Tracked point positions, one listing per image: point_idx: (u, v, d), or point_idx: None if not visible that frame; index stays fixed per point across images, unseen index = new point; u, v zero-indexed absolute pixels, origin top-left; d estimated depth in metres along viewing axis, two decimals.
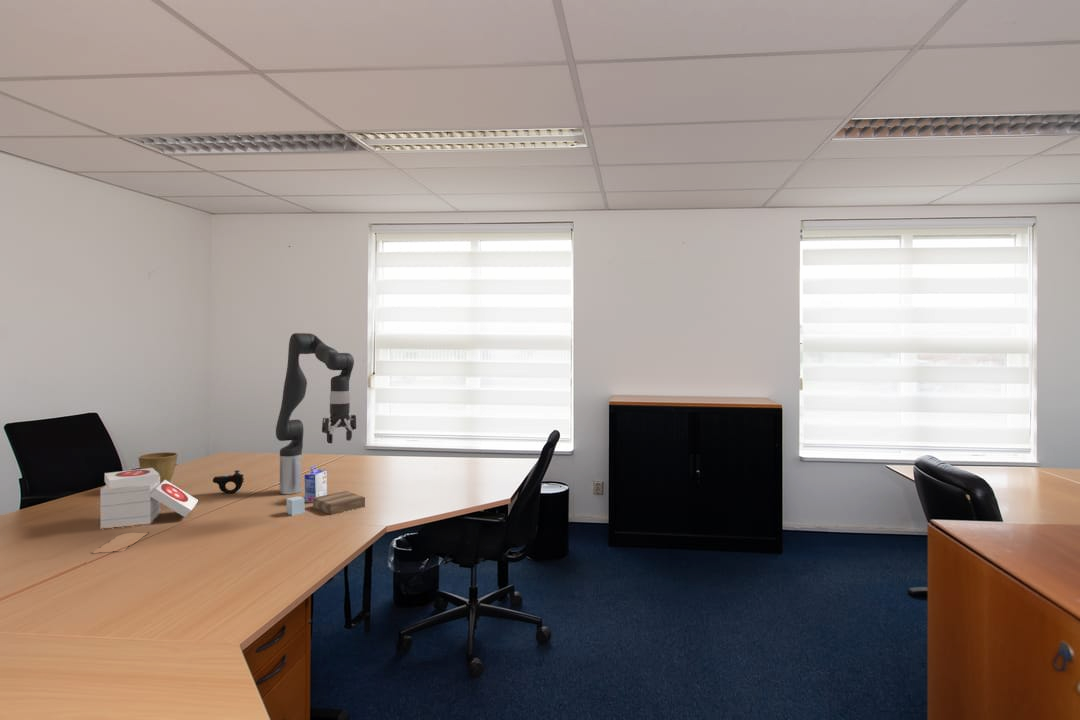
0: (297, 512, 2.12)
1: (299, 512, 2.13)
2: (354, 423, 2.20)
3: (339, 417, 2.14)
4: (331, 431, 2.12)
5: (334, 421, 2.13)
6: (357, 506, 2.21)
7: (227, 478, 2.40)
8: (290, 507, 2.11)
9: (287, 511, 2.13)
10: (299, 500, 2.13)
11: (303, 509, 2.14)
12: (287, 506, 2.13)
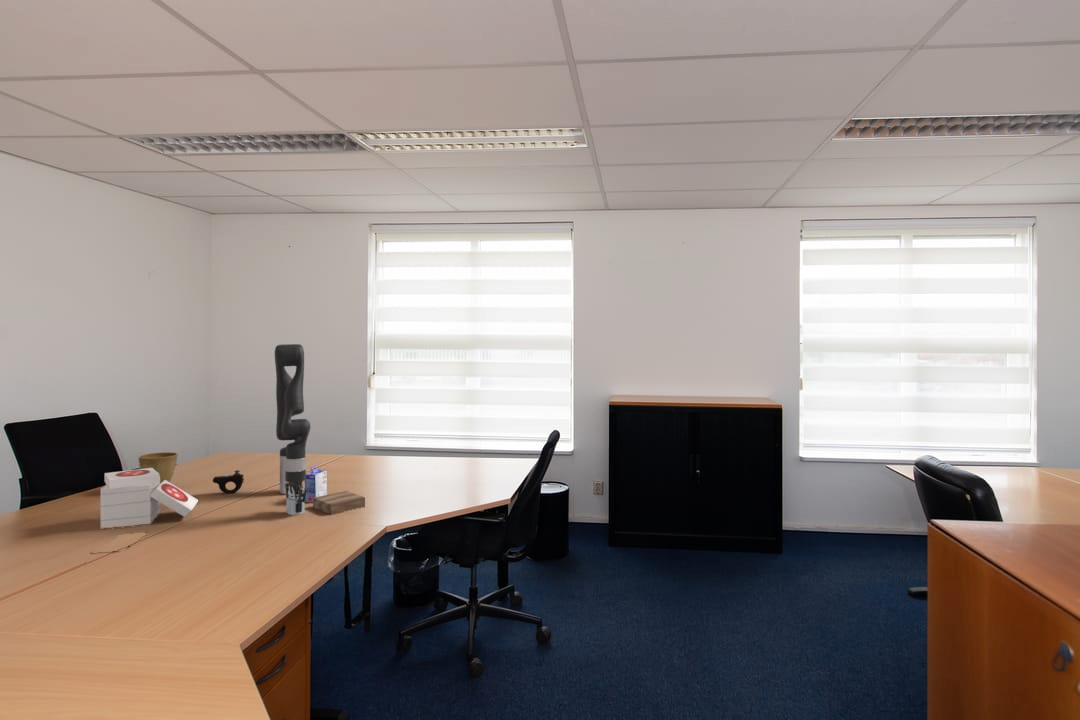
0: None
1: (299, 512, 2.13)
2: None
3: None
4: None
5: None
6: (357, 506, 2.21)
7: (227, 478, 2.40)
8: (290, 507, 2.11)
9: (287, 511, 2.13)
10: None
11: (303, 509, 2.14)
12: (287, 505, 2.13)
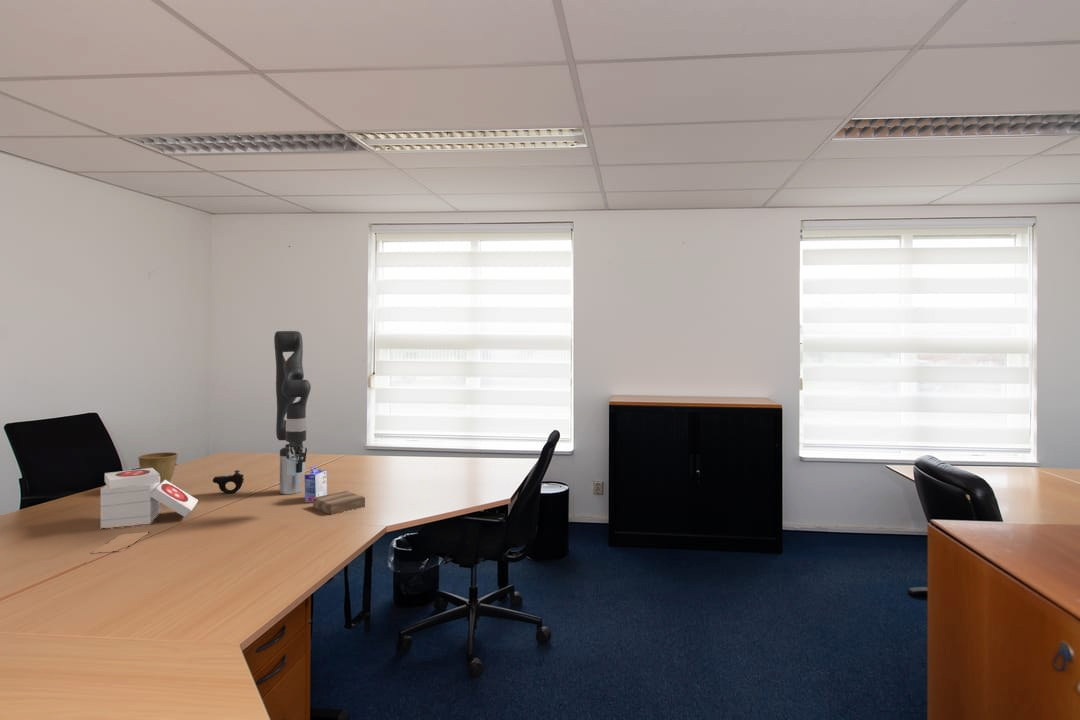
0: None
1: None
2: None
3: None
4: None
5: None
6: (357, 506, 2.21)
7: (227, 478, 2.40)
8: (290, 467, 2.11)
9: (287, 471, 2.13)
10: None
11: (303, 469, 2.14)
12: (287, 466, 2.13)
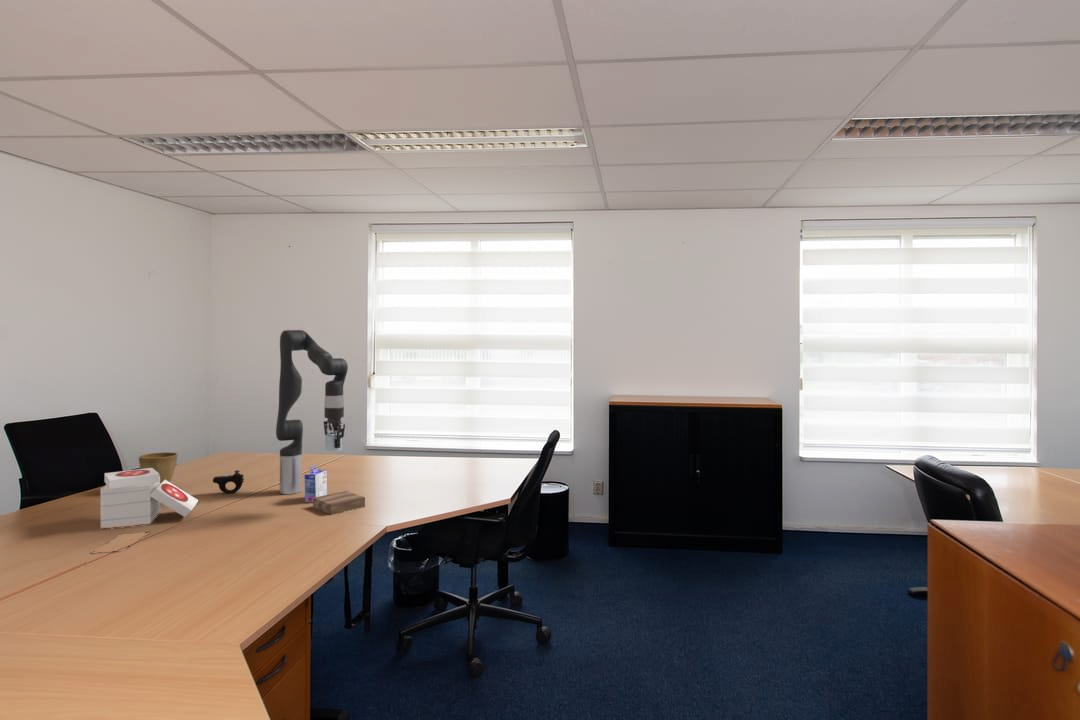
0: None
1: (337, 448, 2.20)
2: None
3: None
4: None
5: None
6: (357, 506, 2.21)
7: (227, 478, 2.40)
8: (329, 442, 2.19)
9: (326, 447, 2.20)
10: None
11: (341, 445, 2.21)
12: (325, 441, 2.21)
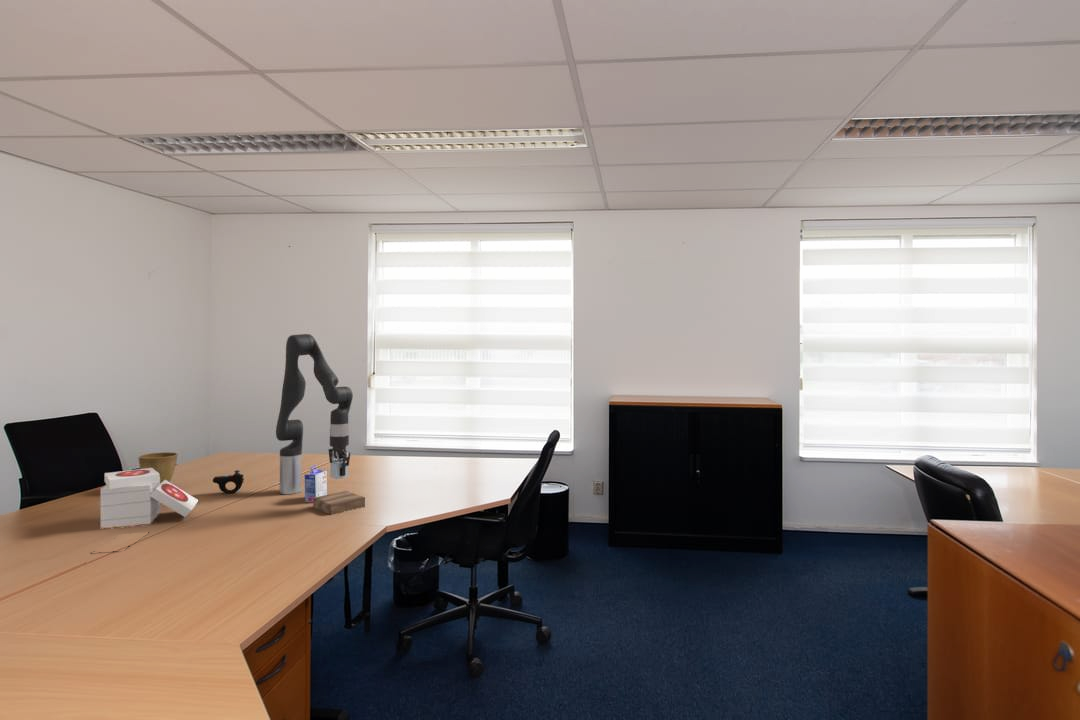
0: None
1: (343, 476, 2.21)
2: None
3: None
4: None
5: None
6: (357, 506, 2.21)
7: (227, 478, 2.40)
8: (334, 470, 2.20)
9: (331, 475, 2.22)
10: None
11: (346, 473, 2.23)
12: (331, 469, 2.22)
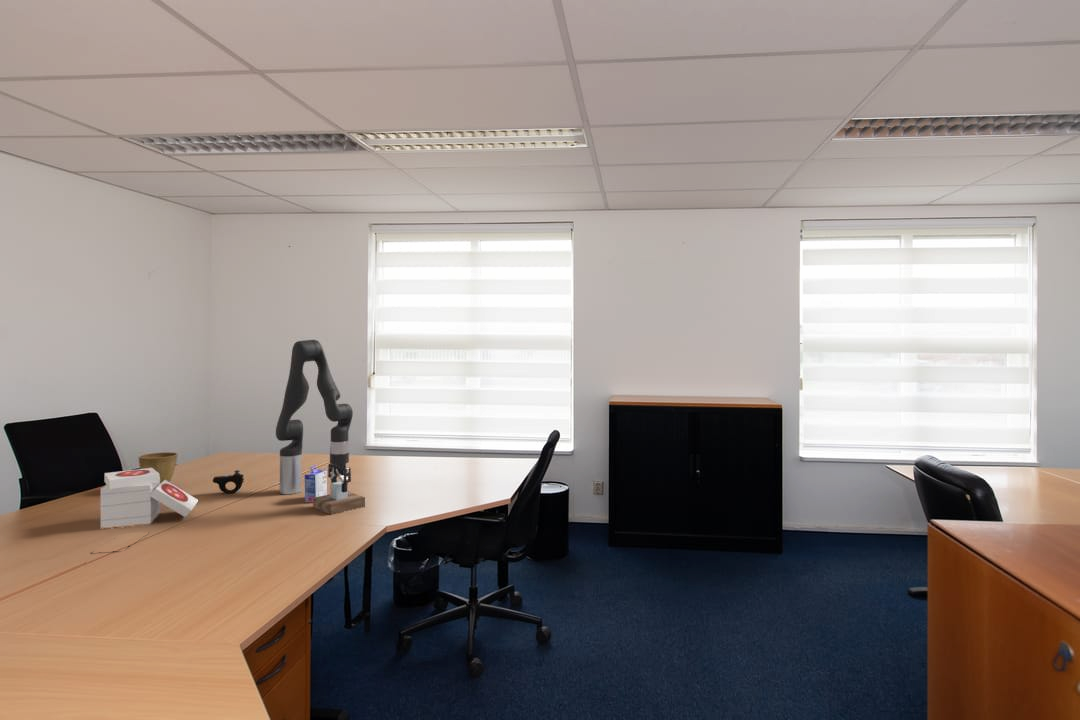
0: (341, 496, 2.21)
1: (343, 496, 2.22)
2: None
3: None
4: None
5: None
6: (357, 506, 2.21)
7: (227, 478, 2.40)
8: (334, 491, 2.20)
9: (331, 495, 2.22)
10: None
11: (346, 493, 2.23)
12: (330, 490, 2.22)
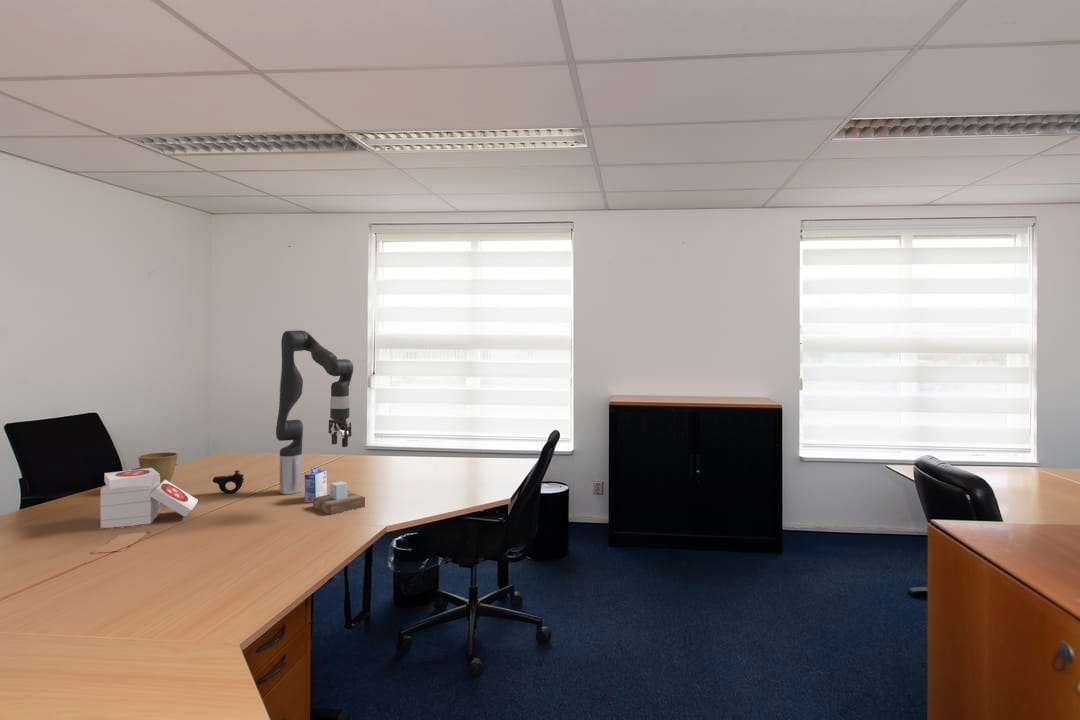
0: (341, 496, 2.21)
1: (343, 496, 2.22)
2: None
3: None
4: None
5: None
6: (357, 506, 2.21)
7: (227, 478, 2.40)
8: (334, 491, 2.20)
9: (331, 495, 2.22)
10: (343, 485, 2.22)
11: (346, 493, 2.23)
12: (330, 490, 2.22)
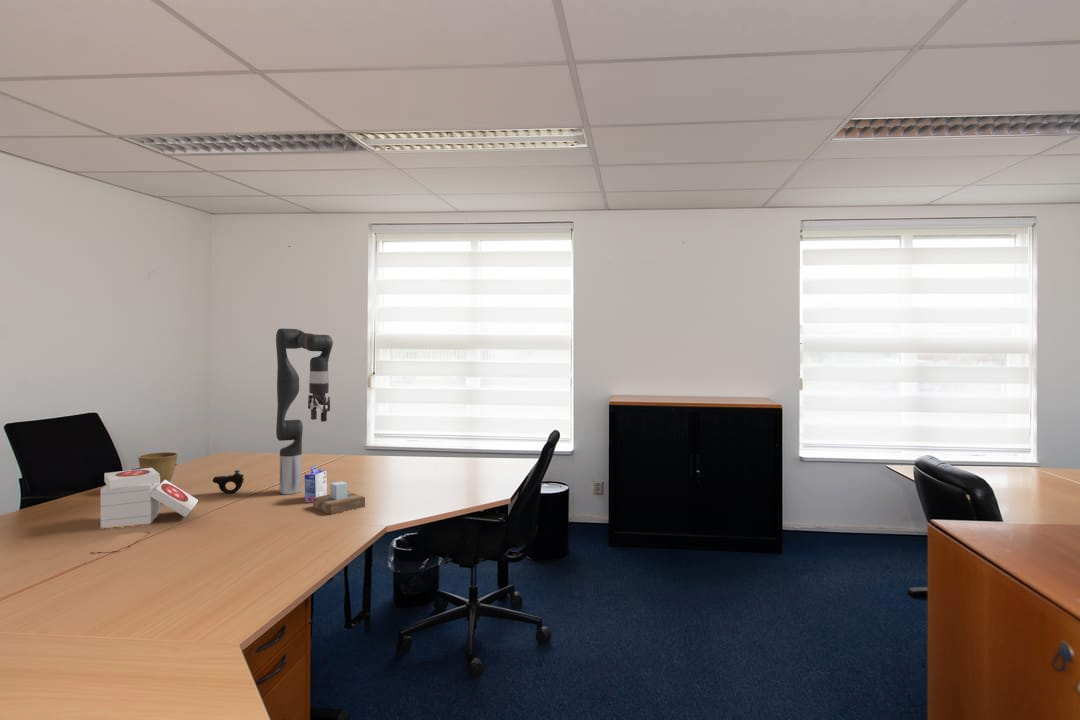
0: (341, 496, 2.21)
1: (343, 496, 2.22)
2: None
3: None
4: None
5: None
6: (357, 506, 2.21)
7: (227, 478, 2.40)
8: (334, 491, 2.20)
9: (331, 495, 2.22)
10: (343, 485, 2.22)
11: (346, 493, 2.23)
12: (330, 490, 2.22)
